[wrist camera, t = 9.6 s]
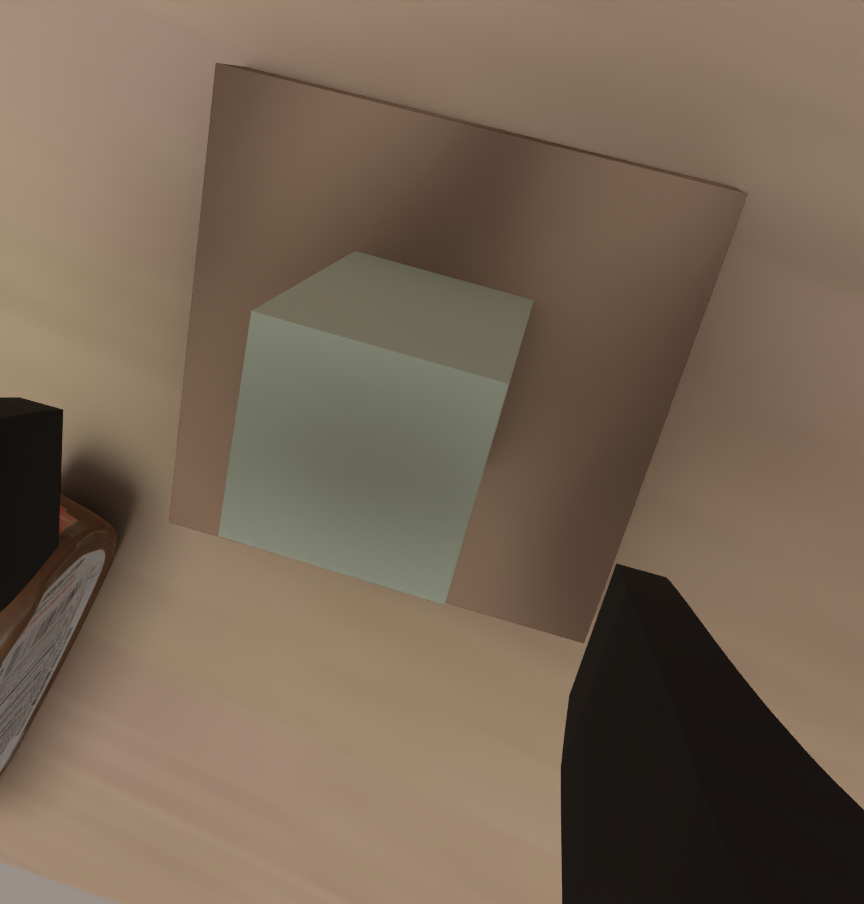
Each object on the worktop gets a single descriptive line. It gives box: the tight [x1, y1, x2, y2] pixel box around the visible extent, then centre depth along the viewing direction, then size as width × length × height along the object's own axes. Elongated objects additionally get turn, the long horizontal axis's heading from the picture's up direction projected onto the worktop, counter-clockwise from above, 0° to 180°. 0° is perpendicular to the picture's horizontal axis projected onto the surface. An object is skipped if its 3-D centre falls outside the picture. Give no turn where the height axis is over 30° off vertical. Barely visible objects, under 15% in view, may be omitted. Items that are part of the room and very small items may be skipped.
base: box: [169, 63, 747, 643], centre depth 19 cm, size 11×11×2 cm
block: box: [218, 251, 534, 605], centre depth 16 cm, size 4×4×6 cm
